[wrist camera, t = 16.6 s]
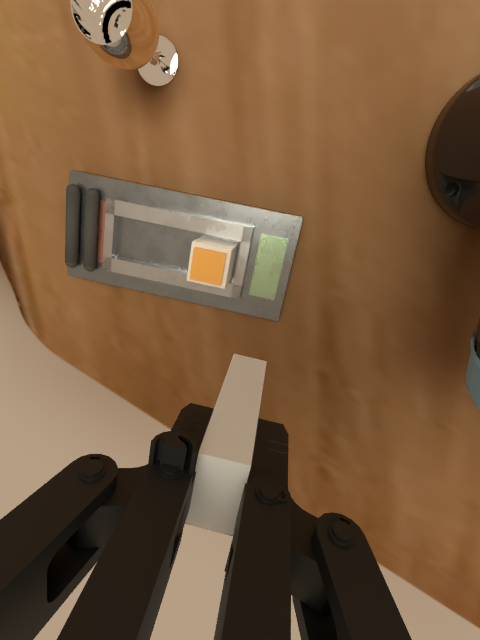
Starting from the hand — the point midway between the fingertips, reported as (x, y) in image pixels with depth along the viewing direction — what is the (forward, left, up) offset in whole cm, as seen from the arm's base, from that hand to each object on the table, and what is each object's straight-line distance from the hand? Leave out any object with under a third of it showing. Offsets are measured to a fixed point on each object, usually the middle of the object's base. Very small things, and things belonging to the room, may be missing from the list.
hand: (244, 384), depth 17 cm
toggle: (0, -6, -26) cm, 27 cm away
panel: (0, -11, -28) cm, 30 cm away
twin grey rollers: (0, -22, -26) cm, 34 cm away
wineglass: (-18, -16, -28) cm, 37 cm away
